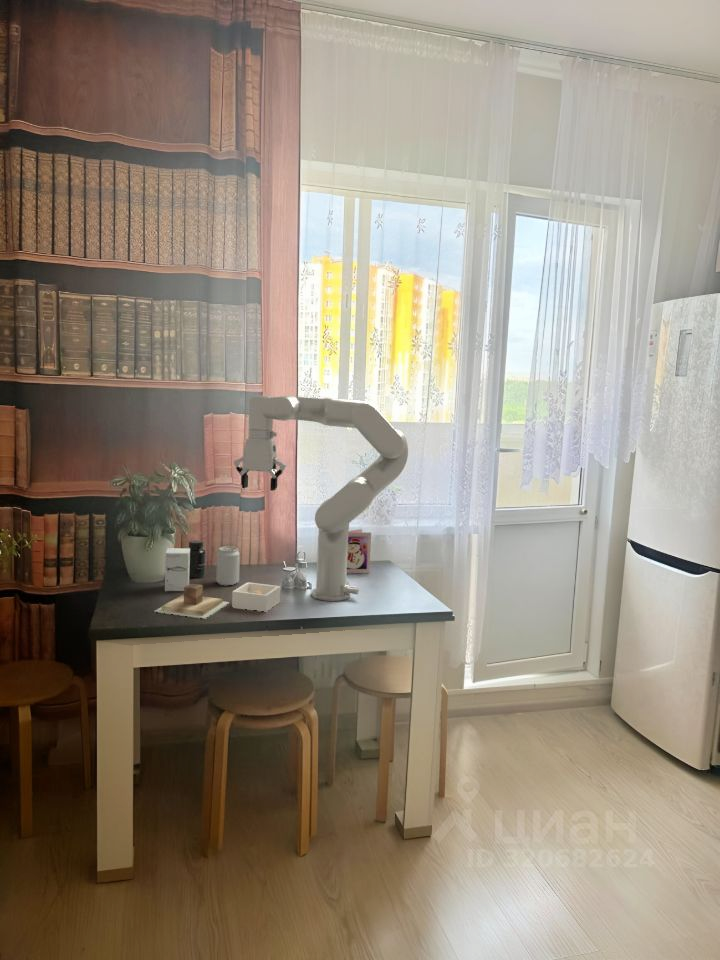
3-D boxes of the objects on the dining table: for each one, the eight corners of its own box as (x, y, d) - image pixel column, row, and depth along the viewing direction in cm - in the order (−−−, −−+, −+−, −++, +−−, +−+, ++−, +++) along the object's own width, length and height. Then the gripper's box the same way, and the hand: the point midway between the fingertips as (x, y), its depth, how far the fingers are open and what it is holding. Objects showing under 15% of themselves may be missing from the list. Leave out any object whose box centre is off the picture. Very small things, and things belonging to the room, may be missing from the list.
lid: (222, 602, 221) (223, 583, 220) (202, 615, 209) (203, 594, 208) (183, 597, 224) (184, 578, 224) (162, 610, 212) (162, 589, 211)
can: (236, 587, 240) (237, 551, 239) (214, 585, 240) (214, 550, 239) (240, 580, 248) (241, 546, 246) (218, 579, 248) (219, 545, 246)
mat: (229, 603, 222) (229, 602, 222) (204, 619, 207) (204, 617, 207) (181, 597, 226) (181, 596, 226) (154, 612, 211) (154, 610, 211)
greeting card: (338, 573, 262) (340, 532, 260) (335, 568, 270) (337, 528, 268) (369, 573, 265) (371, 533, 263) (365, 568, 272) (367, 528, 270)
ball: (264, 601, 223) (264, 589, 223) (259, 604, 220) (260, 592, 219) (253, 599, 224) (253, 588, 224) (248, 603, 221) (248, 591, 220)
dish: (280, 601, 226) (280, 586, 225) (266, 612, 216) (266, 595, 215) (247, 597, 229) (247, 582, 228) (232, 607, 218) (232, 591, 218)
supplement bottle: (204, 578, 248) (204, 544, 247) (183, 578, 248) (184, 543, 246) (206, 573, 255) (207, 539, 254) (186, 573, 254) (187, 539, 253)
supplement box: (164, 591, 231) (164, 552, 230) (166, 585, 239) (166, 547, 237) (188, 591, 233) (188, 553, 231) (189, 585, 240) (190, 547, 238)
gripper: (290, 436, 232) (288, 489, 234) (240, 432, 236) (238, 485, 239) (281, 437, 225) (280, 492, 227) (230, 434, 229) (228, 488, 231)
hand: (259, 488), depth 233 cm, fingers open, 9 cm apart
